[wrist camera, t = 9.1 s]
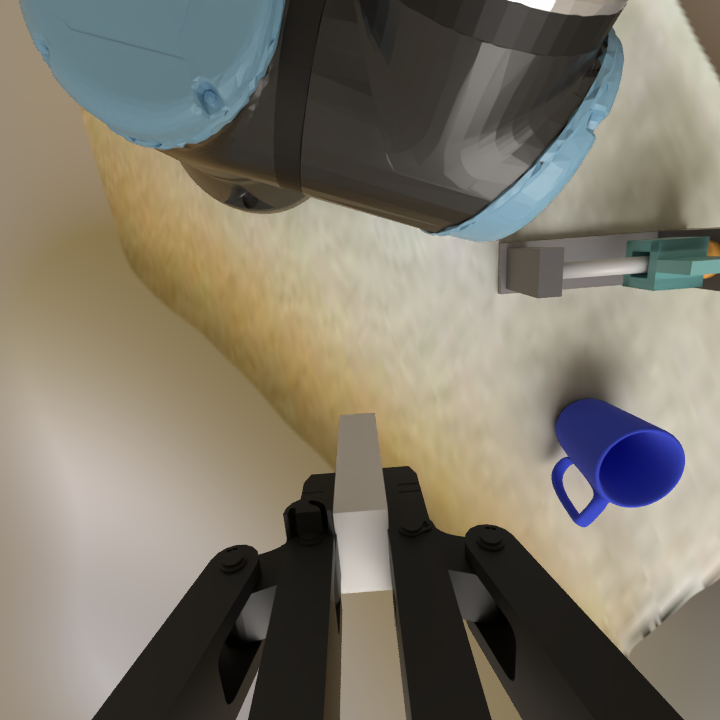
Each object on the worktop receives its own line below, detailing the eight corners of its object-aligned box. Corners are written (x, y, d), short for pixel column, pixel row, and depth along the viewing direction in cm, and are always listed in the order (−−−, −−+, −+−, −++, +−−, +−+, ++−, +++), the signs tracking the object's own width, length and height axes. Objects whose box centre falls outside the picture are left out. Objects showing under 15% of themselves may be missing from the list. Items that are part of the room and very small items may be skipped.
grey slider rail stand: (498, 293, 42) (546, 309, 32) (499, 243, 41) (550, 243, 30) (680, 279, 42) (789, 290, 32) (687, 228, 41) (804, 223, 30)
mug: (511, 460, 48) (551, 515, 38) (576, 376, 45) (636, 412, 35) (565, 491, 49) (617, 551, 39) (631, 411, 46) (705, 455, 37)
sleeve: (622, 285, 37) (687, 295, 30) (627, 240, 36) (695, 239, 29) (665, 282, 37) (741, 291, 30) (671, 237, 36) (751, 235, 29)
